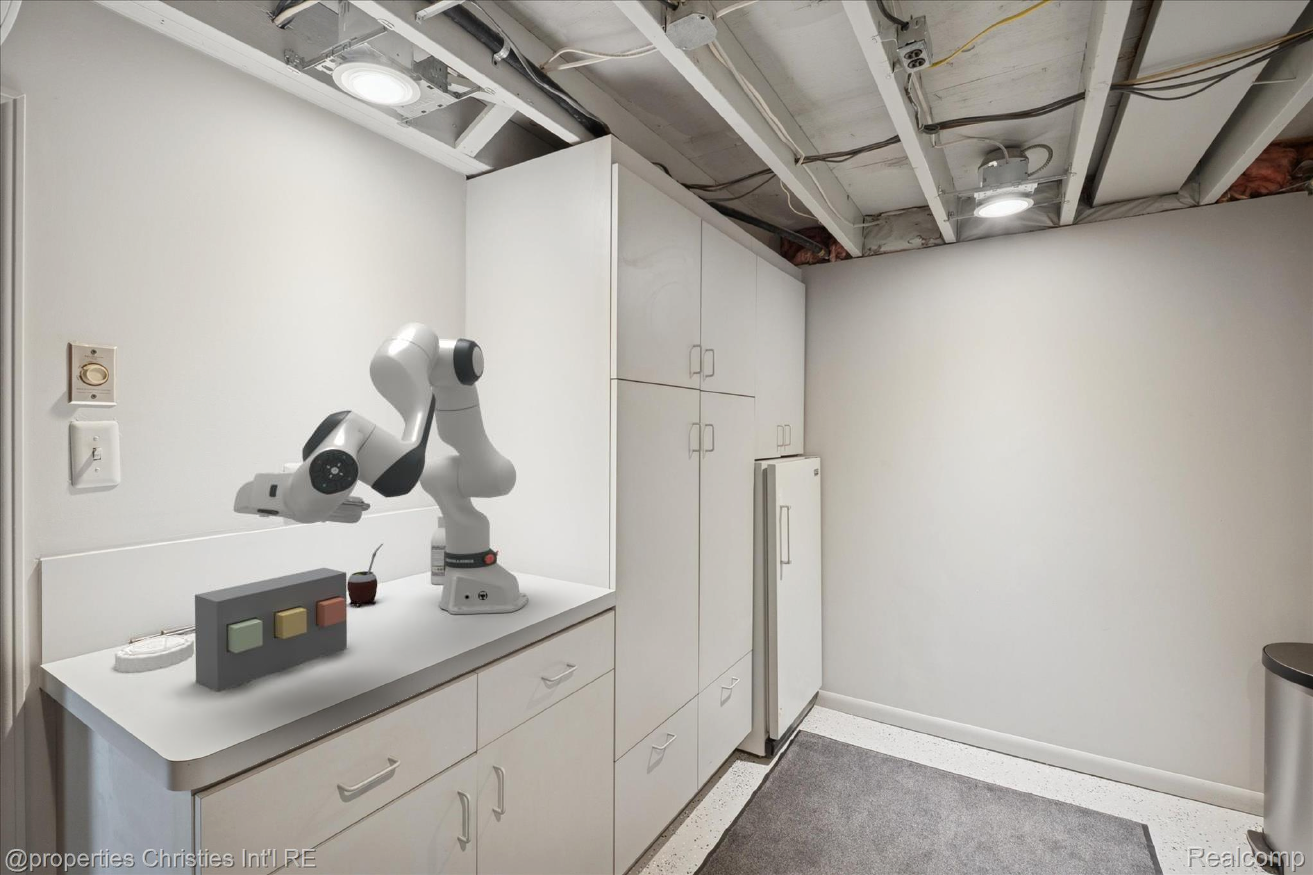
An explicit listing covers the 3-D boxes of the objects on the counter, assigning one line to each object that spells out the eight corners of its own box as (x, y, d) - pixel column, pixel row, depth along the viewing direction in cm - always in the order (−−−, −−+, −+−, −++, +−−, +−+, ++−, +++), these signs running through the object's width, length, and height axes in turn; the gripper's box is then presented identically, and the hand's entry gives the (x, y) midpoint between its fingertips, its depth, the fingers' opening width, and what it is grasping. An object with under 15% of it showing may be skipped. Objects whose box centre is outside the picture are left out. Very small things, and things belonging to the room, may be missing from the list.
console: (346, 647, 126) (346, 572, 126) (217, 691, 106) (216, 601, 105) (324, 640, 130) (324, 567, 130) (195, 681, 110) (194, 594, 109)
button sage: (262, 645, 110) (262, 621, 109) (235, 652, 106) (235, 628, 106) (253, 641, 111) (253, 618, 111) (227, 649, 107) (227, 625, 107)
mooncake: (118, 658, 120) (118, 640, 120) (193, 645, 128) (193, 628, 128) (111, 679, 111) (111, 660, 111) (193, 663, 118) (193, 645, 118)
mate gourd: (343, 608, 153) (342, 550, 152) (354, 599, 161) (354, 543, 160) (373, 607, 154) (373, 549, 153) (383, 598, 162) (383, 543, 161)
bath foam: (457, 583, 177) (456, 516, 176) (432, 586, 174) (431, 517, 173) (453, 578, 183) (453, 512, 183) (429, 580, 180) (429, 514, 180)
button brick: (345, 620, 123) (345, 599, 123) (324, 626, 120) (324, 604, 119) (336, 617, 125) (336, 596, 125) (316, 623, 121) (315, 602, 121)
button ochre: (306, 631, 116) (306, 609, 116) (283, 638, 113) (282, 615, 113) (297, 629, 118) (297, 606, 118) (274, 635, 114) (274, 613, 114)
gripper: (375, 487, 112) (353, 506, 122) (245, 470, 100) (233, 492, 109) (371, 520, 110) (350, 536, 120) (238, 507, 97) (226, 526, 107)
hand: (293, 515), depth 114 cm, fingers open, 8 cm apart
